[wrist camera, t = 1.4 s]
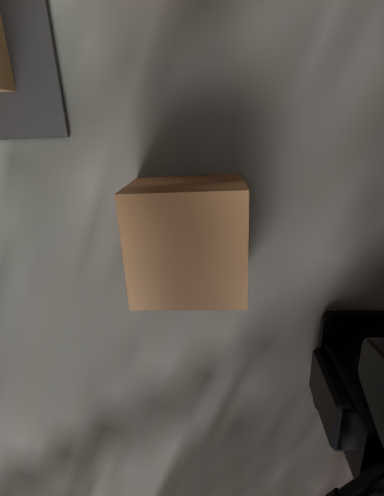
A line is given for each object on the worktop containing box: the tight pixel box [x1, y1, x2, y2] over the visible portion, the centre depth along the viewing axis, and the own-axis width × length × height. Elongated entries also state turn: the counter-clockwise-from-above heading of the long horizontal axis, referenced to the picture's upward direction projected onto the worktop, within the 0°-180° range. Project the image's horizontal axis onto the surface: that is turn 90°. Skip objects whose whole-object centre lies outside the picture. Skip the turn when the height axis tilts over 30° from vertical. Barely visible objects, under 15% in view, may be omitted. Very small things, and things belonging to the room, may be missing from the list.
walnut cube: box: [115, 174, 249, 310], centre depth 15 cm, size 5×5×4 cm
